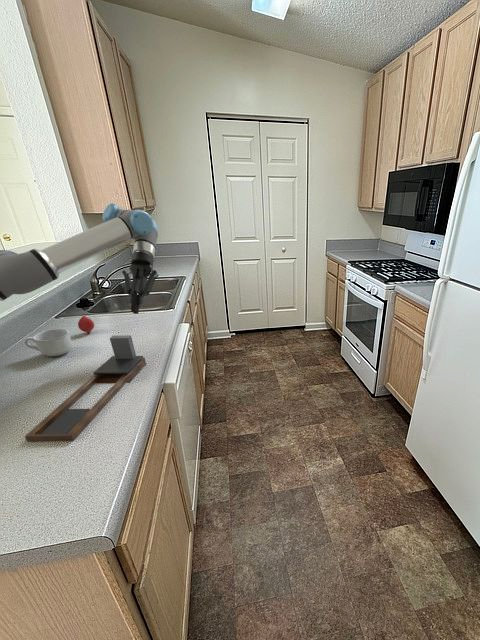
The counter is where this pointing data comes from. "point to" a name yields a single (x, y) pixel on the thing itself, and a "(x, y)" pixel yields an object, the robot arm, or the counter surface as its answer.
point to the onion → (86, 324)
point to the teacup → (51, 342)
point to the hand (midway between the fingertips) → (134, 311)
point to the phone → (66, 421)
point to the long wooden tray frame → (91, 414)
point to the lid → (120, 356)
